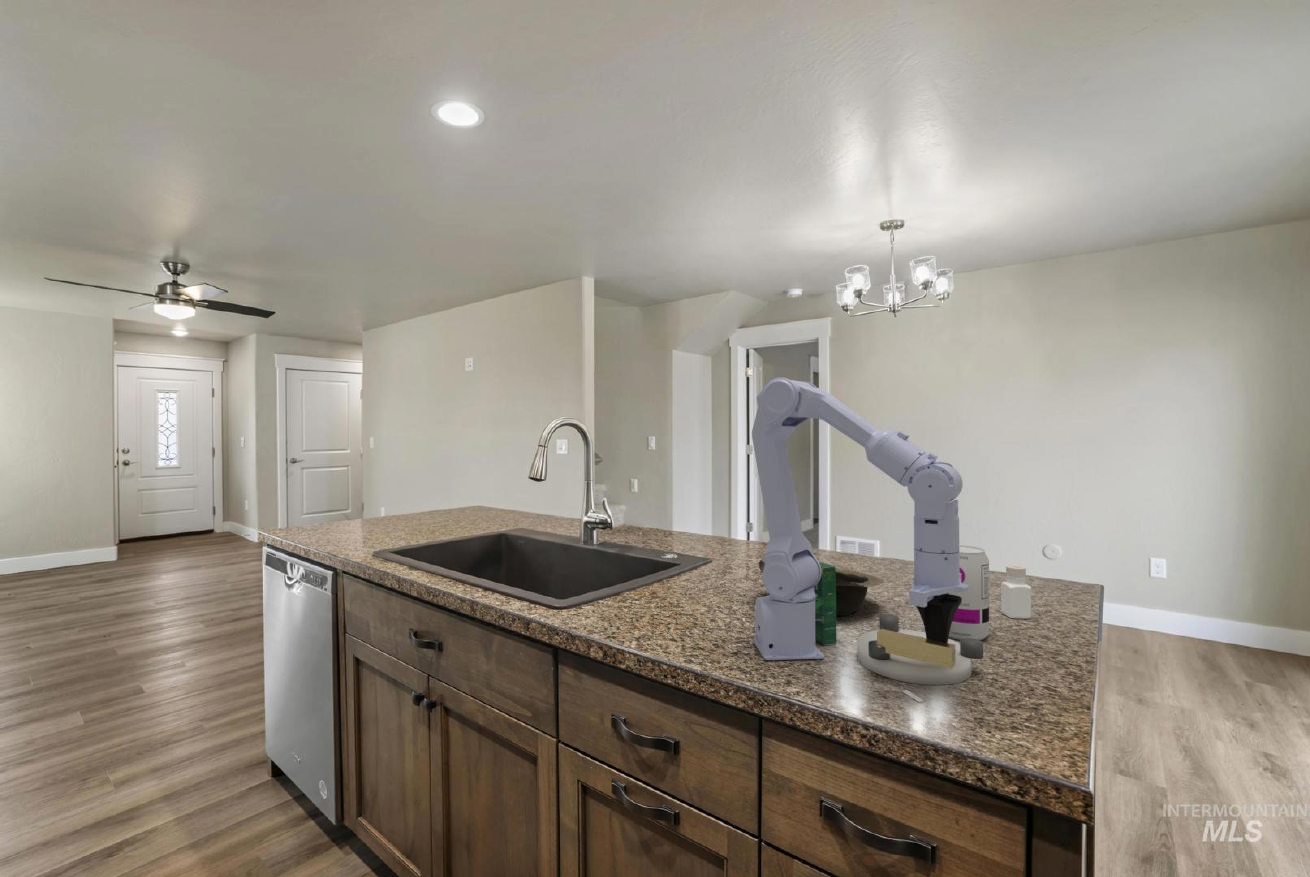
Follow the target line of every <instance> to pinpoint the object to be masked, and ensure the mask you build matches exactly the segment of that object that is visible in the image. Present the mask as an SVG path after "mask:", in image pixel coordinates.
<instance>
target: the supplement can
mask: <svg viewBox="0 0 1310 877" xmlns="http://www.w3.org/2000/svg"><path fill="white" fill-rule="evenodd" d="M959 565H960V573H961V583H962V584H967V585H969V590H968V591H967V592H959V591H958V592H953V593H949V594H950V595H956V596H960V597H961V598H962V602H961V604H960V605H959V607H958V609H957V611H956V613H955V615H954V618H953V620H952V624H951V628H950V632H949V639H955V640H959V641H960V639H963V638H971V639H976V640H979V641H983V640H984V639H985V638H986V637H988V636H989V635H990V560H989V558H988V555H987V554H986V551H985V549H984V548H981V547H976V546H971V545H970V546H969V545H960V544H959Z"/></svg>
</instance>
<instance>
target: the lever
mask: <svg viewBox="0 0 1310 877" xmlns="http://www.w3.org/2000/svg"><path fill="white" fill-rule="evenodd" d="M878 630H879V631H878V632H877V640H874V641H870V642H869V643H868V653H869V657H871V658H873V659H877V660H889V659H890V654H894V655H898V656H902V657H906V658H910V659H914V660H919V661H923V662H927V663H931V664H935V665H939V666H944V667H948V668H953V667H954V666H955V645H954V644H950V643H944V642H940V641H935V640H931V639H927V638H922V637H917V636H913V635H908V634H903V633H899V632H894V631H889V630H885V629H881V630H880V629H878Z"/></svg>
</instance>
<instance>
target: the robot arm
mask: <svg viewBox="0 0 1310 877" xmlns="http://www.w3.org/2000/svg"><path fill="white" fill-rule="evenodd" d="M756 402H757V411H756V414H755V418H754V422H753V426H752V430H751V440H752V444H753V450H754V457H755V462H756V467H757V473H758V480H759V484H760V485H759V486H760V491H761V496H762V502H763V508H764V514H765V519H766V526H767V530H768V537H769V540H768V543H767V545H766V547H765V550H764V552H763V558H764V561H763V562H764V563H765V565H764V570H763V573H761V576H762V579H761V580H762V583H763V586H764V589H765V590H766V591H767V593H768V594H769V595H765V596H759V597H756V599H755V604H754V641H753V643H754V644H755V646H756V647H757V650H758V651H759V652H760V655H761V656H762V658H763V660H766V661H772V660H773V661H782V660H783V661H784V660H813V659H814V660H816V659H819V660H820V659H822V660H823V659H825V654H824V653H823V652H822V651H821V650H820V649H819V648H818V647H817V646H816V640H815V592H814V586H815V585H816V584H817V583H818V582H819V580H820V578H821V566H820V563H819V562H820V561H819V560H818V558H817V557H816V556H815V554H814V552H813V546H812V543H811V542H810V540H809V539H808V538H807V537H806V536H805V534H804V533H803V528H802V523H801V517H800V516H801V515H800V511H799V505H798V500H797V494H796V489H795V483H794V477H793V474H792V467H791V462H790V457H789V449H788V445H787V440H788V438H789V437H790V436H791V435H792V434H793V432H794V431H795V429H796V428H797V427H798V426H800V424H803V423H804V422H806V421H808V419H816V420H822V421H824V422H825V423H827V425H829V426H831V427H833V428H835V430H837V431H839V432H840V433H841V434H843V435H845V436H846V437H848V438H849V439H851V440H853V441H854V442H855V443H857V444H858V445H860V446H861V447H863V448H864V450H865V454H866V460H867V461H868V462H869V463H870V464H872V465H874V466H875V468H877V469H879V470H880V471H882V472H883V473H884V474H886V476H888V477H890V478H891V479H893V480H894V481H895V482H897V483H898V484H900V486H902V487H907V492H908V494H909V496H910V498H911V499H912V501H914V504H913V506H914V509H913V510H914V515H913V551H914V552H913V571H914V572H913V575H914V576H913V577H914V578H912V583H911V588H910V589H909V590H908V604H909V606H914V607H916V609H917V611H918V613H919V614H920V617H921V620H922V622H923V623H922V624H923V627H924V632H925V633H926V638H927V639H931V640H935V641H940V642H944V643H948V639H950V637H949V632H950V628H951V624H952V620H953V618H954V615H955V613H956V611H957V609H958V607H959V605H960V604H961V602H962V598H961V597H960V596H956V595H950V594H949V593H953V592H958V591H959V592H967V591H968V590H969V585H967V584H962V583H961V573H960V565H959V545H960V517H959V499H957V498H958V497H959V495H960V494H961V492H962V490H963V479H962V477H961V474H960V472H958V470H957V469H956V468H955V467H954V466H953V465H952V464H951V463H949V462H946V461H937V459H938V455H937V454H936V453H934V452H929V453H928V452H926V451H924V450H923V449H922V448H920V447H919V446H917V445H916V444H915V443H913V442H911V441H910V440H909V437H910V435H909V434H908V433H907V432H905V431H904V430H900V431H898V432H897V431H896V430H894V429H886V430H879V429H877V428H876V427H875V426H873V425H872V424H871V423H870V422H868V421H867V420H866V419H865V418H863V417H862V416H860V415H859V414H858V413H856V412H855V411H854V410H852V409H851V408H850V407H848V406H847V405H846V404H844V403H843V402H842V401H840V400H839V399H838V398H836V397H835V396H833V395H832V394H830V393H829V392H828V391H826V390H824V389H822V388H821V387H817V386H816V385H815V384H813V383H812V382H810V381H805V380H800V381H799V380H793V379H789V378H786V377H775V378H773V379H771V380H769V381H768V382H767V383H766V384H765V385H764V387H763V388H762V389H761V391H760V392H759V393H758V395H757V396H756Z"/></svg>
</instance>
